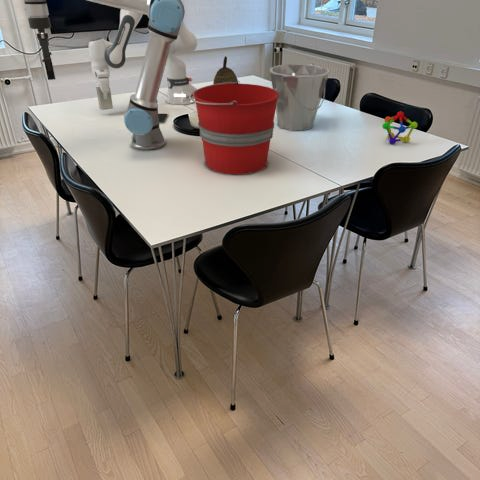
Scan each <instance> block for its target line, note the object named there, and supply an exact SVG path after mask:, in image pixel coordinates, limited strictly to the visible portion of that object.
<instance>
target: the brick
mask: <svg viewBox="0 0 480 480" xmlns="http://www.w3.org/2000/svg"><path fill="white" fill-rule="evenodd" d="M109 88H110V90H109V92H107V99H104V97H103V92H102V91H101V89H100V87H99V86H96V87H95V89H96V95H97V101H98V108H99V109H100V110H101V111H106V110H112V109H114V105H113V99H112V98H113V97H112V92H111V87H110V86H109Z"/></svg>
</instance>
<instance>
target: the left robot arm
mask: <svg viewBox="0 0 480 480" xmlns="http://www.w3.org/2000/svg"><path fill="white" fill-rule="evenodd" d="M86 1H87V2H92V3H97V4H99V5H105V6H108V7H113V8H117V9H120V10H121V9H124V10H129V11H133V12H137V13H141V14H143V15H146V16H147V18H148V19H149V20H148V23H147V31H148V33H149V38H148V40H147V41H148V42H147V45H146V49H145V53H144V58H143V61H142V65H141V66H142V67H141V69H140V73H139V78H138V82H137V86H136V89H135V93H134V94H131V95H130V96H129V102H128V106H127V110H126V112H125V114H124V117H123V122H124V126H125V128H126V129H127V130H128V131H129V132H130V133H132V135H131V142H130V143H131V147H132V148H134V149H135V150H141V151H151V150H153V151H154V150H157V149H161V148H163V147H164V146H165V144H166V140H165V137H164V135H163V132H162V130H161V127H160V123H159V117H158V114H159V104H158V95H159V90H160V87H161V84H162V79H163V76H164V72H165V70H166V62H167V58H168V54H169V51H170V47H171V44H172V42H174V41H175V40H177V37H178V33H179V30H180V26H181V23H182V20H183V21H184V18H185V15H186V13H185V11H186V10H185V6H184V4H183V2H182V0H86ZM23 2H24V7H23V10H25V11H26V15H27V16H28V18H27V20H28V26H29V28H30V29H31V30H37V32H38V33H37V32H36V38H37V40H38V43H39V46H40V47H41V53H42V57H43V59H41V62H42V63H44V67H45V72H46V77H47V80H49V81H51V80H52V81H53V80H56V75H55V70H54V65H53V61H52V55H53V54H52V52H51V51H50V49H49V48H50V47H49V46H50V41H49V34H48V32H46V30H48V29H50V28H52V25H51V19H50V16H49V15H50V13H49V8H48V4H47V0H23Z"/></svg>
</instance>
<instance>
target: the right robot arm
mask: <svg viewBox="0 0 480 480" xmlns="http://www.w3.org/2000/svg"><path fill="white" fill-rule="evenodd" d="M143 15H144V14H141V13H137V12H133V11H129V10H124V9H120V11H119V26H118V30H117V33H116V36H115V38H114V41H113V42H110V41H108V40H106V39H104V37H95V38H93V39H90V41H89V42H88V56H89V59H90V63H91V64H90V66H91V74H92V76H94V77H95V79H96V84H97V87H100V89H101V91H102V92H103V97H104V99H107V92H109V90H110V91H111V87H110V77H111V76H110V68H112V69H120V68H122V67H123V66H124V65H125V63H126V50H127V47H128V44H129V41H130V39H131V36H132V33H133V31H134V30H135V29H136V27H137V25H138V24H139V22H140V21H141V19H142V17H143ZM197 46H198V39H197V37H196V35H195V34H194V33H193V32H192V31H190V30H189V29H188V28H187V26H186V24H185V21H184V19H183V20H182V23H181V26H180V30H179V33H178V37H177V40H175V41H174V42H172V44H171V47H170V51H169V54H168V58H167V62H166V65H165V68H166V73H167V77H166V79H167V80H166V84H167V98H166V103H168V104H170V105H183V106H184V105H185V106H186V105H191V104H196V102H194V101H193V102H190V101H191V99H193V100H194V99H195V98H194V96H193V94H194V93H193V94H192V95H191V99H190V94H191V93H192V92H193V91H195V90H197V89H198V88H197V87H195V86H194V85H193V84H191V83H190V82H192V81H193V78H192V77H187V65H186V63H185V62H184V61H183V60H182V59H180V58H178V57H176V55H175V54H188V53H193V52H195V51H196V49H197ZM109 87H110V88H109ZM323 93H324V91H323Z"/></svg>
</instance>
